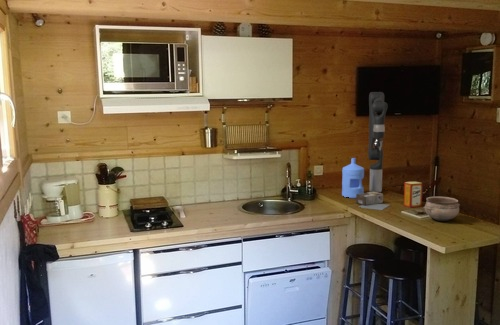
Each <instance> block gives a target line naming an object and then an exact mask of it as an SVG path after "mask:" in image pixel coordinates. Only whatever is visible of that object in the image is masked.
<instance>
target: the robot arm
mask: <svg viewBox="0 0 500 325" xmlns="http://www.w3.org/2000/svg"><path fill="white" fill-rule="evenodd" d="M368 106H369V107H368V108H369V111H368V112H369V117H368V120H369V121H368V150H367V152H368V154H367V158H368V160H369V161H377V162H375V163H372V164H370V165H369V191H368V192H377V193H381V192H383V191H382V190H383V164H384V163H383V161H384V160H383V159H384V150H383V145H384V141H383V139H384V138H385V136H386V135H385V132H386V131H385V118H386V113H387V111H388V107H389V106H388V103H387V102H385V93H384V92H383V91H371V92H369V95H368ZM378 113H380V114H379V115H378Z"/></svg>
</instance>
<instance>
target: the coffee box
mask: <svg viewBox="0 0 500 325" xmlns="http://www.w3.org/2000/svg"><path fill="white" fill-rule="evenodd" d="M383 200H384V194H383V193H381V192H370V191H367V192H364V193H361V194H356V198H355V204H358V205H360V206H361V205H371V204H384V203H383V202H384V201H383Z"/></svg>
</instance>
